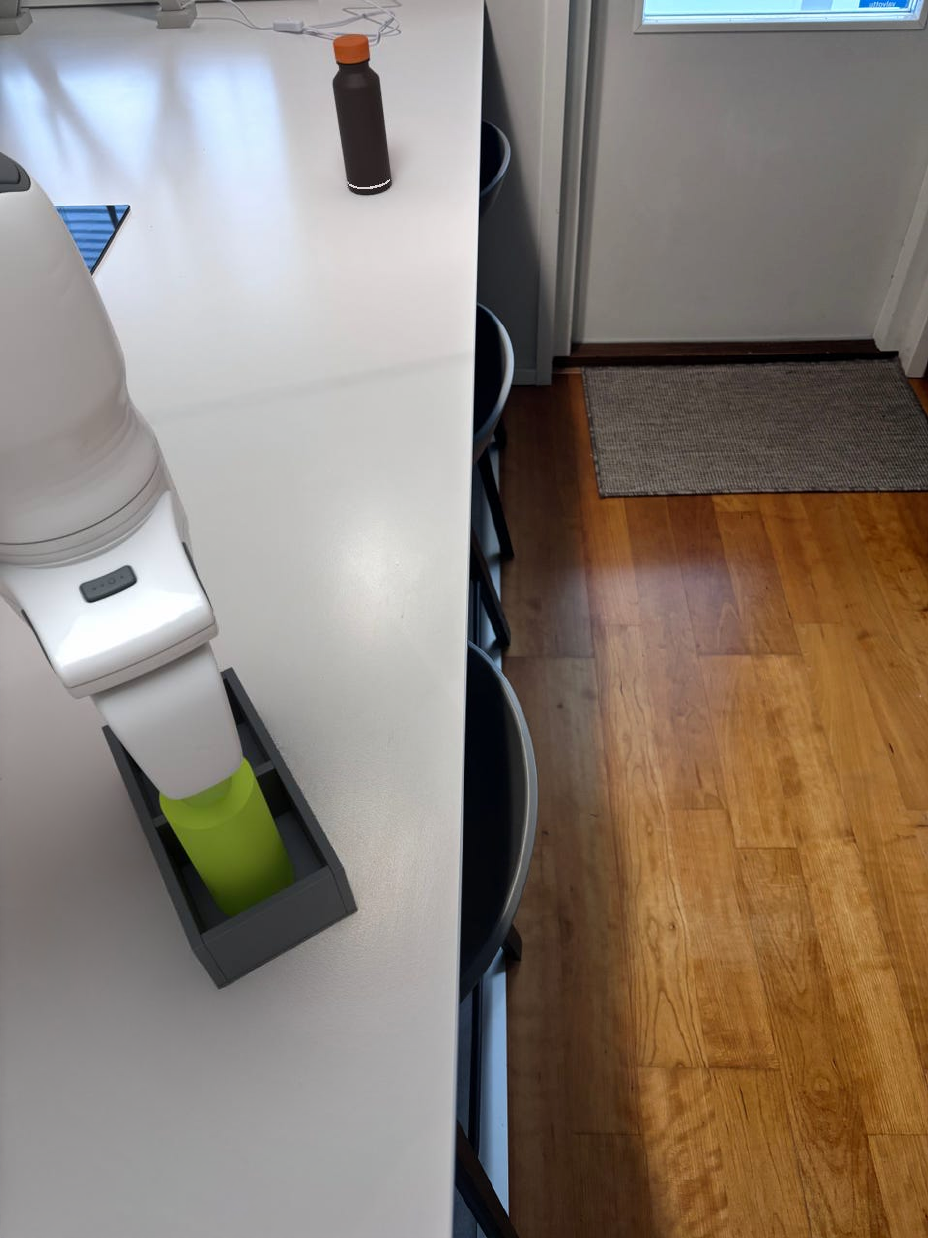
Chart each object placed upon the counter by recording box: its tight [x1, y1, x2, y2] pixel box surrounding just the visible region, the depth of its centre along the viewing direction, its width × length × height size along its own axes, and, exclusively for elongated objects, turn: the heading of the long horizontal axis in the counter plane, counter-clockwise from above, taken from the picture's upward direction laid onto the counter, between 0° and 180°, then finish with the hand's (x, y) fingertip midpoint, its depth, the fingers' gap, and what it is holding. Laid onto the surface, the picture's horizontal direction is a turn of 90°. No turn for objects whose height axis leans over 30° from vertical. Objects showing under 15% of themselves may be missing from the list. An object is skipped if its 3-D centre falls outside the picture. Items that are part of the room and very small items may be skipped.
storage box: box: [101, 666, 359, 990], centre depth 70 cm, size 11×20×6 cm, turn 31°
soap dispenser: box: [159, 757, 294, 918], centre depth 61 cm, size 6×7×20 cm
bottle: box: [331, 33, 392, 195], centre depth 138 cm, size 7×7×20 cm
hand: (173, 706), depth 52 cm, fingers open, 8 cm apart
